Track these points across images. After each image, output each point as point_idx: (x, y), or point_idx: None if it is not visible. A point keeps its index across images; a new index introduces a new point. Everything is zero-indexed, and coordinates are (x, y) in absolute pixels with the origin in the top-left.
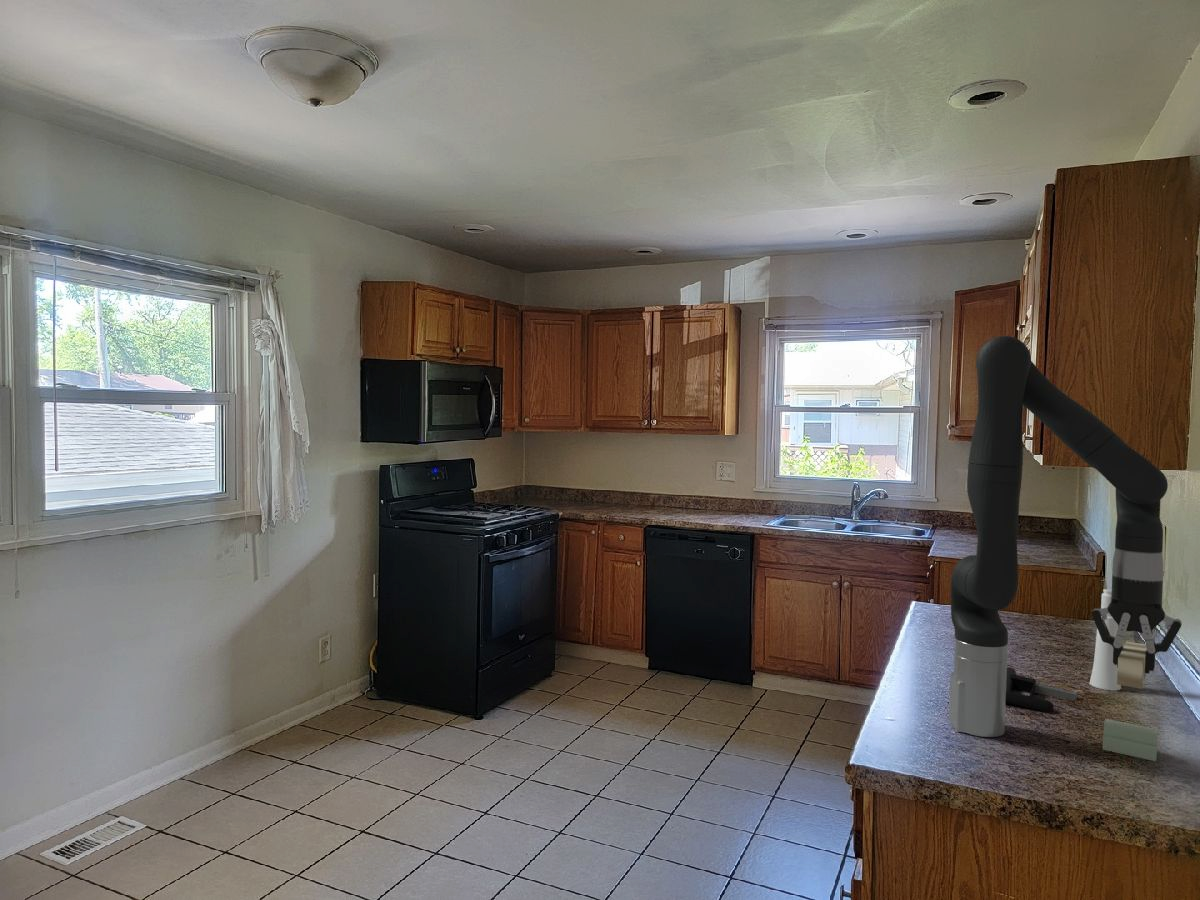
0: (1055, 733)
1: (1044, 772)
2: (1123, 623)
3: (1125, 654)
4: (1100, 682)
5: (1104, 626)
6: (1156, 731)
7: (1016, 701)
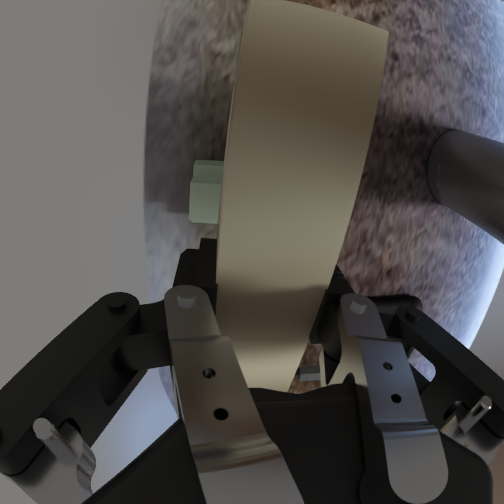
0: (355, 208)
1: (377, 16)
2: (401, 411)
3: (333, 184)
4: None
5: (454, 367)
6: (191, 203)
7: (394, 300)
